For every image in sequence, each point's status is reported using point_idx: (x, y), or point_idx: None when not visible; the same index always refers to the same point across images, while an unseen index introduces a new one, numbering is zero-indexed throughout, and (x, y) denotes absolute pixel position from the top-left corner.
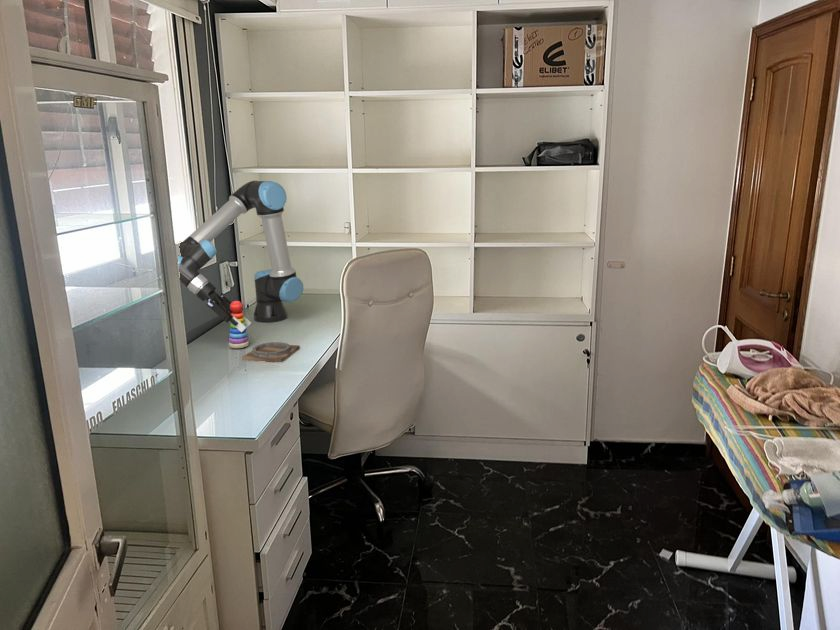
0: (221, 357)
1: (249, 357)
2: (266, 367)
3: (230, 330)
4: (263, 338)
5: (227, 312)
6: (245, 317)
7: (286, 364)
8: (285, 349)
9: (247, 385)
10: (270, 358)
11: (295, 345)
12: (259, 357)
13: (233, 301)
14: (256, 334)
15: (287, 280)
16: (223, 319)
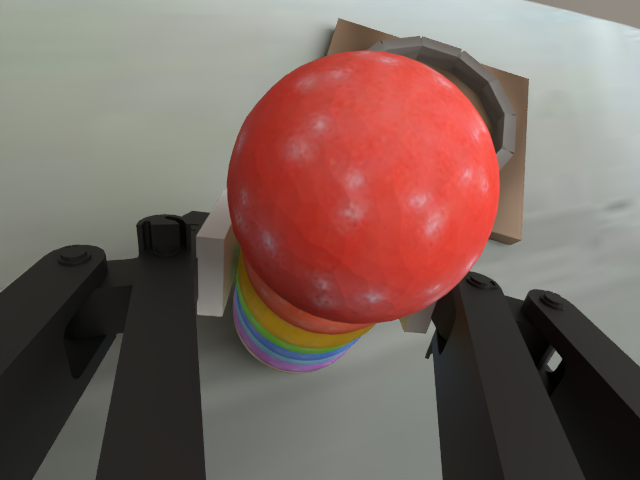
0: None
1: (517, 204)
2: (574, 134)
3: (355, 341)
4: (128, 198)
5: (517, 334)
6: (221, 195)
7: (532, 71)
8: (455, 51)
9: None
10: (518, 116)
11: (337, 33)
12: (512, 160)
13: (404, 187)
14: (11, 254)
15: None
16: (549, 379)
